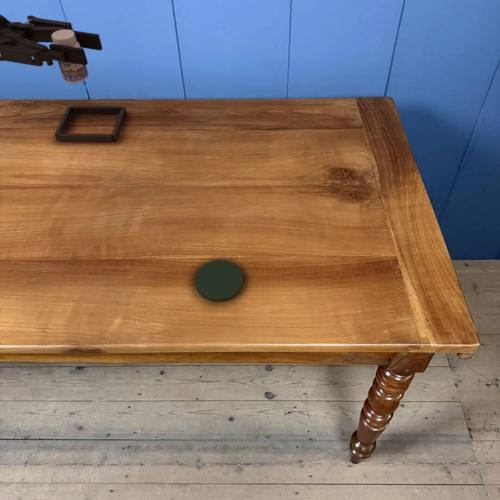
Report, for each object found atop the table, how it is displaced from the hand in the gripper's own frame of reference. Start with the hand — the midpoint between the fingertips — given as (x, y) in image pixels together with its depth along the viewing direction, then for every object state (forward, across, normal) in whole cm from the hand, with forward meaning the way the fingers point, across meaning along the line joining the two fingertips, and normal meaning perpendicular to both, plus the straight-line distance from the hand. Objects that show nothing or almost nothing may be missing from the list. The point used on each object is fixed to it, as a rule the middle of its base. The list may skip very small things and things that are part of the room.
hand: (92, 49), depth 83 cm
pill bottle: (-5, 0, -6) cm, 8 cm away
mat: (+34, +30, -18) cm, 49 cm away
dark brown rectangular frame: (-5, 0, -18) cm, 18 cm away
